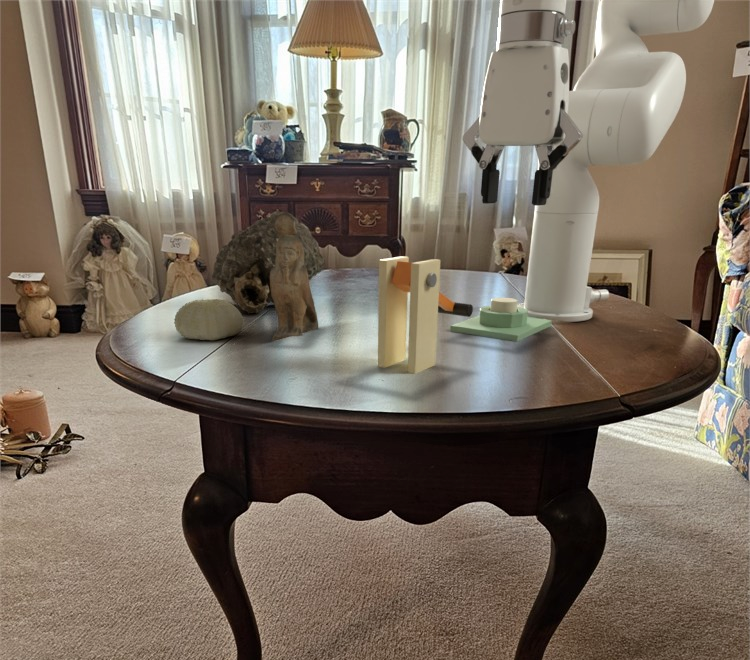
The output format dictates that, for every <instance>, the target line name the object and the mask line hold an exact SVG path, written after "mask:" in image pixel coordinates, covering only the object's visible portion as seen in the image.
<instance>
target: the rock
mask: <svg viewBox="0 0 750 660" xmlns="http://www.w3.org/2000/svg"><path fill="white" fill-rule="evenodd" d="M282 213H288V214H290V215H291V217H292V218H294V220H295V224H296V237H297V238H298V239H299V240H300V241H301V243H302V245H303V249H304V265H305V266H306V269H307V274H308V279H309V282H310V281H311V280H312V279H313V278H314V277H315V276H317V274H319V273H321V272H322V268H323V267H324V266H325V264H326V259H325V258H324V255H323V254H322V252H321V250H320V246H319V243H318V241H317V240H316V239H315V238H314V237H313V235H312V233H311V231H310V229H309V227H308V226H306V225H305V224H304V223H302V222H300V221H299V220H298V219H297V218H296V217H295V216H294V215H293V214H291V213H289V212H286V211H283V210H282V209H280V210H279V211H278V210H277V211H276V212H275V211H273V212H271V213H270V215H269V216H267V217H266V218H262V219H258V220H256V221H254V223H252V225H250V226H247V227H246V228H245V230H243V229H241V230H238V233H237V232H236V233H232V234H231V235H230V238H231V240H230V241H228V242H227V243H226V244H224V245H222V246H221V249H220V250H219V251H218V253H217V254H216V256H215V262H214V263H213V271H212V274H211V280H212V281H213V282H215V284H216V285H217V286H218V287H219V291H220V293H226V294H227V295H228V296H230V299H231V300H232V301H233V302H234V303H236V304H238V305H239V307H240V309H241V310H242V311H246V312H247V313H248V314H252V313H254V314H258V312H261V311H264V309H265V307H266V306H267V304H269V303H271V302H272V304H275V303H274V301H273V298H272V296H271V289H270V271H271V268H272V267H273V266H274V265H276V245H277V241H278V239H279V238H280V236H279V234H278V232H277V231H276V229H275V220H276V218H277V216H278V215H280V214H282Z"/></svg>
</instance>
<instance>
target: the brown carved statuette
mask: <svg viewBox="0 0 750 660" xmlns="http://www.w3.org/2000/svg"><path fill="white" fill-rule="evenodd" d="M288 213H289V212H286V213H282V214H280V215H278V216H277V218H276V220H275V229H276V231H277V232H278V234H279V236H280V238H279V239H278V241H277V245H276V265H274V266H273V267H272V268H271V271H270V289H271V296H272V298H273V301H274V303H273V304H274V308H275V313H276V317H277V329H276V331H275V333H273V334H272V337H271V342H277V341H280V340H283V339H287V338H292V337H302V336H304V334H305V333H310V332H312V331H316V330H319V320H318V316H317V315H318V314H317V311H316V307H315V301H314V298H313V294H312V290H311V285H310V281H309V279H308V274H307V269H306V266H305V265H304V249H303V245H302V243H301V241H300V240H299V239H298V238H297V237H296V224H295V220H294V218H292V217H291V215H292V214H291V213H290V214H291V215H290V214H288Z"/></svg>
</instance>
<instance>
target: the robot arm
mask: <svg viewBox="0 0 750 660" xmlns="http://www.w3.org/2000/svg"><path fill="white" fill-rule="evenodd" d="M499 2H500V3H499V14H498V15H499V17H498V27H497V40H496V50H494V51H492V52H491V53H490V58H489V62H488V66H487V70H486V74H485V79H484V85H483V91H482V97H481V103H480V104H481V105H480V112H479V113H480V114H479V116H478V117H477V118H476V120H475V121H474V122H473V124H472V125H471V126H470V127H469V128H468V129H467V131H466V132H464V134H463V136H462V141H463V143H464V144H465V146H466V147H467V148H468V150H469V151H470V152H471V155H472V157H473V158H474V159H475V161H476V162H477V163H478V167H479V169H480V170H482V171H481V172H482V173H481V182H480V183H481V186H480V195H481V197H482V199H481V203H482V204H485V205H487V204H496V203H497V202H498V199H499V198H498V197H499V185H500V173H501V172H500V169H497V168H498V166H497V165H498V163H499V160H500V158H501V156H502V154H503V152H504V148H505V147H530V146H531V147H534V148H535V151H536V155H537V169H536V170H535V172H534V176H533V177H534V178H533V187H532V196H531V205H533V206H534V210H533V219H532V228H531V229H532V230H531V237H530V238H531V240H530V248H529V257H528V266H527V275H526V286H525V295H524V302H520V303H517V307H520V308H524V309H526V310H527V311H528V315H527V317H530V318H538V319H546V320H552V321H557V322H564V323H565V322H566V323H578V322H579V323H580V322H585V321H589V320H590V319H593V315H594V309H592V308H591V307H590V305H592V304H593V303H594V302H595V303H602V302H607V301H608V300H609V298H610V292H609V290H608V289H596V290H593V288H592V287H591V286H588V280H589V275H590V268H591V262H592V255H593V248H594V241H595V235H596V229H597V222H598V215H599V209H600V194H599V190H598V187H597V185H596V183H595V181H594V179H593V176H592V175H591V173H590V171H589V169H588V167H593V166H636V165H640V164H643V163H645V162H646V161H648V160H649V159H650V158H651V157H652V156H653V154H654V153H655V152H656V150H657V149H658V148H659V146H660V144H661V142H662V141H663V139H664V137H665V135H667V133H668V131H669V129H670V127H671V126H672V124H673V122H674V121H675V119H676V117H677V116H678V113H679V111H680V108H681V106H682V102H683V100H684V97H685V96H684V95H685V90H686V85H687V71H686V65H685V62H684V60H683V58H682V57H681V56H680V55H679V54H677V53H675V52H672V51H650V52H649V49H648V47H647V45H646V44H645V42H644V41H643V40H642V38H641V37H646V36H647V37H648V36H656V35H667V34H678V33H685V32H686V33H687V32H691V31H694V30H697V29H699V28H700V27H701V26H703V25H704V23H706V21H707V20H708V18H709V16H710V14H711V13H712V10H713V7H714V3H715V0H600V1H599V4H598V9H597V16H596V17H597V18H596V28H595V57H594V58H593V59H592V61H590V63H589V64H588V66H587V67H586V68H585V69H584V71H583V72H582V73H581V75H580V76H579V77H578V79H577V82H575V85H574V87H573V90H570V55H569V49H568V48H566V47H562V46H563V44H564V42H565V37H567V36H570V35H571V36H572V35H574V34H575V31H576V21H575V20H574V19H572V20H571V19H570V20H569V19H567V16H566V10H567V0H500V1H499ZM480 141H481V142H480ZM482 143H483V144H485V147H484V146H483V145H482Z"/></svg>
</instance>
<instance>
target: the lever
mask: <svg viewBox="0 0 750 660" xmlns="http://www.w3.org/2000/svg"><path fill="white" fill-rule="evenodd" d="M411 263H413V262H411V261H409V262H402V261H397V265H396V269H395V273H394V277H393V281H392V284H394V285H395V286H397V287H398V288H400V289H401V290H402V291H404V292H408V293H410V285H411ZM473 310H474V307H473V304H471V303H462V302H454V301H452V300H451V299H450V298H448V297H447V296H445V295H444V294H443V293H442V292H440V291H439V300H438V314H445V315H452V316H460V317H467V318H469V317H470V318H471V316H472V315H473Z"/></svg>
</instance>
